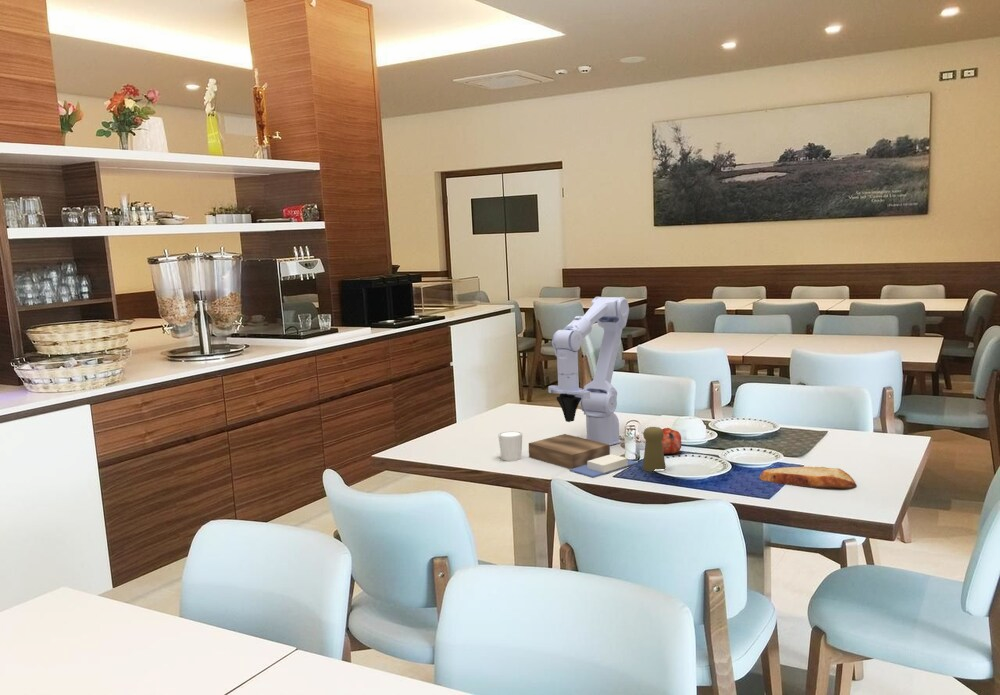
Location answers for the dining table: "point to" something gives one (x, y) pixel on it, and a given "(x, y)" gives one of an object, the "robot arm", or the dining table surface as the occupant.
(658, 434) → the cork
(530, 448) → the brown wooden slab
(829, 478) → the bread slice
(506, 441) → the white cup
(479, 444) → the dining table surface
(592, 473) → the mat
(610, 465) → the block
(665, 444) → the pomegranate
